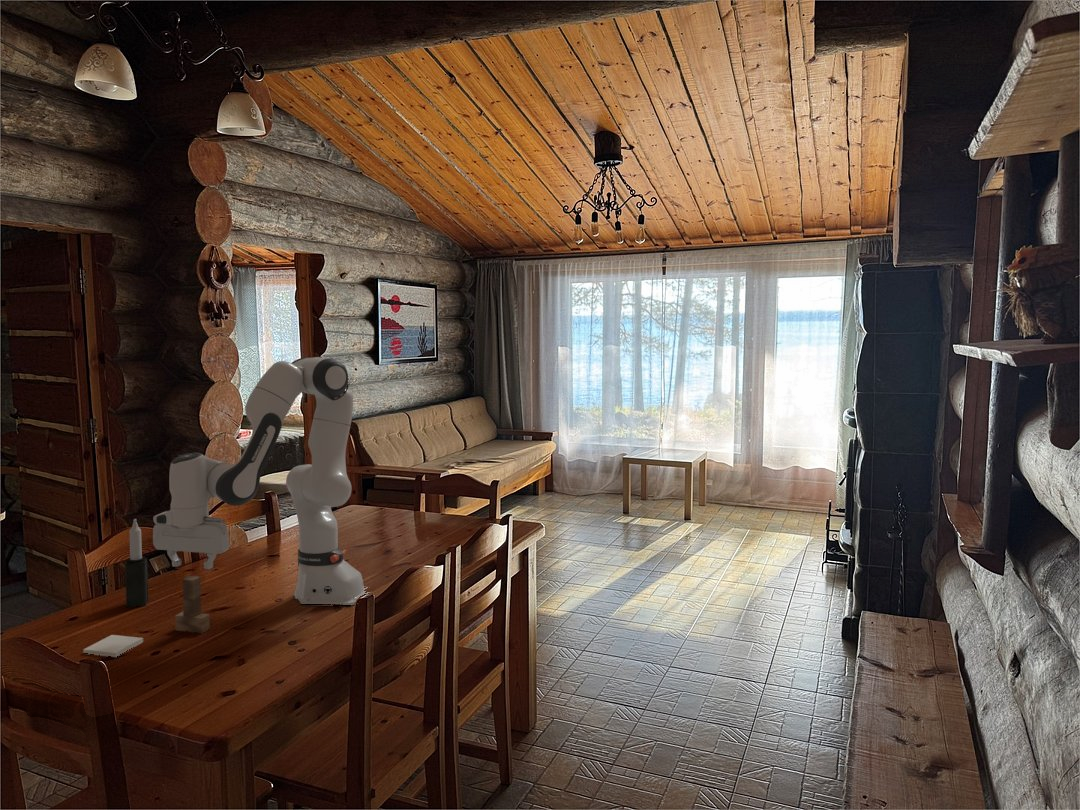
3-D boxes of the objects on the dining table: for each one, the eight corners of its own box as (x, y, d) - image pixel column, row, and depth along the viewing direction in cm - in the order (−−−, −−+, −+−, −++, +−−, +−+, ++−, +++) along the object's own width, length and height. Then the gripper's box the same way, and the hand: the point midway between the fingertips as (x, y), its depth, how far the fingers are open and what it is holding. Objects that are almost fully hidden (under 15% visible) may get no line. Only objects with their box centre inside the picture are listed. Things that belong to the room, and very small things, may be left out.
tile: (143, 637, 180) (115, 652, 171) (143, 644, 180) (116, 659, 171) (111, 634, 181) (83, 649, 173) (112, 640, 182) (83, 655, 173)
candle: (129, 601, 207) (126, 517, 204) (148, 600, 208) (146, 516, 206) (125, 608, 202) (122, 521, 200) (146, 606, 204) (143, 520, 201)
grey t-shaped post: (209, 628, 189) (208, 577, 188) (202, 633, 186) (201, 581, 185) (183, 625, 190) (182, 574, 189) (175, 630, 188) (174, 578, 186)
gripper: (233, 514, 187) (235, 565, 188) (164, 510, 191) (167, 560, 192) (217, 521, 180) (220, 573, 182) (147, 516, 184) (150, 568, 186)
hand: (192, 567), depth 187 cm, fingers open, 8 cm apart
